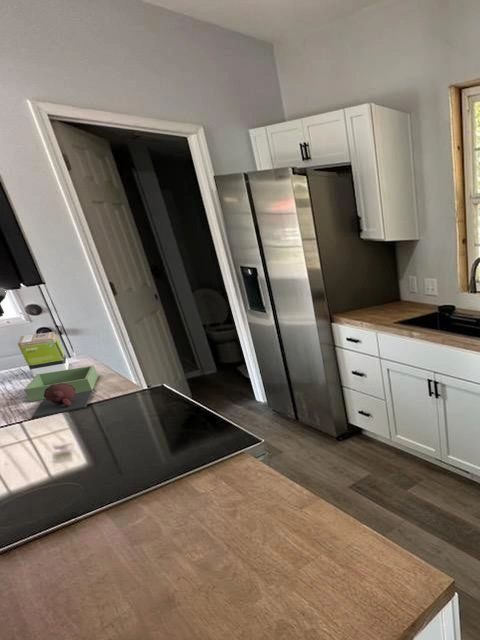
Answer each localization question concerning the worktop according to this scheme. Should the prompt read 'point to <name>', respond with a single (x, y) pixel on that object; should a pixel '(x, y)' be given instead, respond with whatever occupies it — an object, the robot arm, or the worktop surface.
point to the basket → (62, 381)
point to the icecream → (60, 393)
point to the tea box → (43, 353)
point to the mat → (54, 408)
